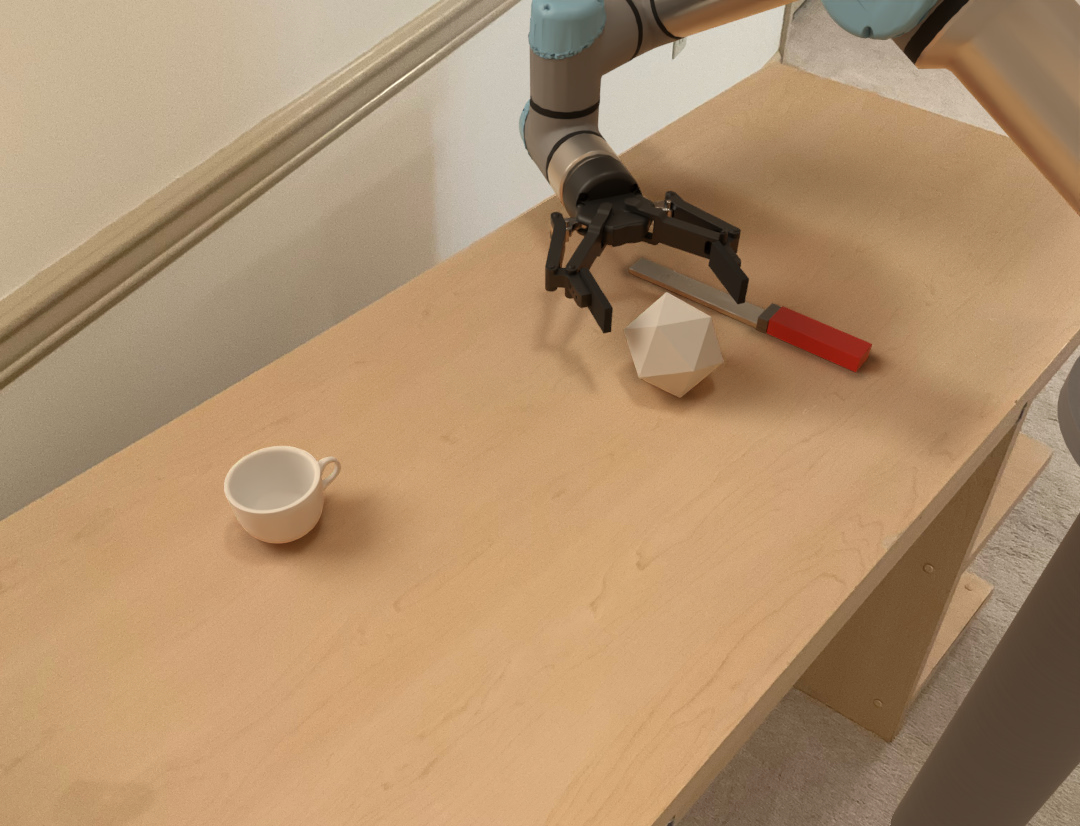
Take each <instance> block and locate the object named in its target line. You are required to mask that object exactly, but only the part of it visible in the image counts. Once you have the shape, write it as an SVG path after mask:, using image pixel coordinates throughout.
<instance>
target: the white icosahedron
mask: <svg viewBox="0 0 1080 826" xmlns="http://www.w3.org/2000/svg"><path fill="white" fill-rule="evenodd" d="M623 333H624V336H625V337H624V338H625V339H626V343H627V346H628V349H629V352H630V355H631V358H632V361H633V364H634V367H635V370H636V374H637V377H638V379H640V380H642V381H644V382H646V383H649V384H650V385H653V386H654V387H656V388H659V389H661V390H663V391H665V392H667V393H669V394H671V395H673V396H675V397H677V398H679V399H681V398H682V397H684V396H685V395H687V393H689V392H690V391H691V390H692V389H693V388H695V387H696V386H697V385H698V384H699V383H701V381H703V380H704V379H705V378H707V377H708V376H710V374H711V373H713V372H714V371H715V370H716V369H718V367H720V366H721V365H722V364H724V362H725V361H724V358H723V357H724V356H723V353H722V350H721V347H720V343H719V339H718V336H717V333H716V329H715V326H714V322H713V319H712V316H711V315H709V314H707V313H706V312H703V311H702V310H700V309H699V308H697V307H694V306H693V305H691V304H689V303H688V302H685V301H684V300H682V299H680V298H679V297H676V296H675V295H673V294H671V293H669V292H668V291H666V292H664V294H662V295H661V296H660V297H659V298H658V299H656V300H655V301H654V302H653V303H652V304H651V305H650V306H649V307H647V308H646V309H645V310H644V311H643V312H641V313H640V314H639V315H638V316H637V317H636V318H634V320H632V321H631V322H630V323H629V324H628V325H626V326H625V327H624V328H623Z"/></svg>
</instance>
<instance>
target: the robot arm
mask: <svg viewBox="0 0 1080 826" xmlns="http://www.w3.org/2000/svg"><path fill="white" fill-rule="evenodd" d="M795 2H799V0H531V4H530V17H529V32H528V34H527V38H528V45H529V99H528V100H527V101H526V103H524V107H523V109H522V111H521V113H520V116H519V119H518V132H519V135H520V138H521V141H522V143H523V145H524V148H525V150H526V151H527V155H528V157H530V160H532V162H534V164H535V165H536V167H537V168H538V170H539V171H540V173H541V174H542V175H543V177H544V179H545V180H546V182H547V183H548V184H549V186H550V188H551V189H552V190H553V192H554V193H555V195H556V197H557V198H558V200H559V201H560V203H561V205H562V206H563V207H564V209H565V211H566V213H567V214H568V216H569V217H566V218H565V217H564V216H563V214H562V212H559V211H554V212H551V213H550V218H549V219H550V222H549V238H550V243H549V247H548V253H547V257H546V261H545V265H544V267H545V268H544V290H545V291H547V292H550V293H553V292H556V291H558V288H562V289H564V297H565V298H566V299H569V300H572V299H573V300H574V302H575V304H576V306H577V307H579V308H580V309H584V308H587V309H588V310H589V312H590V314H591V315H592V318H593V319H594V320H595V322H596V324H597V325H598V327H599V329H600V330H601V332H602V333H603V334H608V333H612V328H613V327H612V326H613V312H614V311H613V310H614V307H613V305H612V304H611V303H610V301H609V299H608V298H607V296H606V294H605V293H604V291H603V290H602V288H601V286H600V284H599V283H598V282H597V280H596V279H595V277H594V275H593V274H592V272H591V270H590V269H591V267H592V266H593V264H594V263H595V261H596V259H597V258H598V257H601V255H602V253H603V252H604V251H605V248H606V247H607V246H610V247H612V248H617V247H621V246H624V245H626V244H637V243H641V242H642V243H644V244H648V245H652V246H654V247H655V246H658V245H659V244H662V245H664V246H668V247H671V248H674V249H677V250H680V251H682V252H685V253H689V254H691V255H695V256H697V257H699V258H704V259H706V260H708V268H709V269H710V270H711V272H712V273H713V274H714V275H715V277H716V278H717V279H718V281H719V282H720V283H721V285H722V286H723V288H724V289H725V290H726V291H727V294H730V295H731V297H732V298H733V299H734V301H735V302H736V303H737V304H742V303H745V301H746V298H747V294H748V288H749V283H750V278H749V277H748V275H747V274H746V272H745V271H744V270H743V269H742V259H741V257H740V256H739V255H738V251H739V244H740V238H741V232H742V230H741V229H740V227H737V226H735V225H733V224H731V223H729V222H727V221H725V220H723V219H722V218H720V217H717V216H715V215H713V214H712V213H709V212H708V211H705V210H703V209H701V208H700V207H697V206H696V205H693V204H692V203H690V202H688V201H686V200H684V198H682V197H681V196H680V195H679V194H678V193H677V192H676V191H673V190H668V191H665V192H664V193H665V194H664V199H662V200H657V201H654V202H653V201H652V200H651V199H650V198H647V197H646V196H644V195H643V194H642V191H641V187H640V186H639V184H638V182H637V180H636V179H635V178H634V176H633V174H632V173H631V172H630V170H629V169H627V167H626V166H625V165H624V163H623V161H622V159H621V158H620V157H619V156H618V154H617V153H616V152H615V150H614V149H613V148H612V147H611V145H610V143H608V141H607V140H606V139H605V137H604V136H603V135H602V134H601V131H600V130H599V118H600V117H599V116H600V115H599V114H600V104H601V87H602V79H603V76H604V75H607V74H609V73H611V72H612V71H614V70H615V69H618V68H619V67H621V66H623V65H625V64H627V63H629V62H631V61H632V60H634V59H635V58H637V57H640V56H642V55H644V54H646V53H648V52H650V51H652V50H654V49H658V48H660V47H663V46H665V45H669V44H672V43H674V42H677V41H680V40H683V39H685V38H688V37H690V36H693V35H696V34H699V33H703V32H705V31H708V30H711V29H714V28H718V27H721V26H725V25H727V24H730V23H733V22H737V21H740V20H742V19H745V18H749V17H752V16H755V15H758V14H761V13H765V12H768V11H770V10H774V9H777V8H780V7H782V6H786V5H790V4H793V3H795ZM820 2H821V4H822V7H824V9H825V11H826V13H827V14H828V15H829V17H830V18H831V20H832V21H834V23H836V24H837V26H838V27H839V28H841V29H842V30H844V31H845V32H847V33H848V34H850V35H852V36H854V37H857V38H859V39H866V40H867V39H871V40H878V41H888V40H892V42H893V43H894V44H895V45H896V46H897V47H898V48H899V50H901V52H902V53H903V54H904V55H905V56H906V57H907V59H908V60H909V61H910V62H911V64H912V65H914V66H915V67H916V68H917V69H918V70H936V69H937V70H940V69H943V70H944V69H945V70H948V71H949V72H951V73H952V75H954V77H956V79H957V80H958V81H959V82H960V84H961V85H962V86H963V87H964V88H965V89H966V90H967V91H968V92H969V93H970V94H971V96H972V97H973V98H974V99H975V100H976V101H977V103H978V104H979V105H980V106H981V107H982V109H984V110H985V112H986V113H987V114H988V115H989V116H990V117H991V118H992V119H993V120H994V121H995V123H996V124H997V125H998V126H999V128H1001V130H1002V131H1003V132H1004V133H1005V134H1006V135H1007V136H1008V137H1009V139H1010V140H1011V141H1012V142H1013V144H1015V146H1016V147H1017V148H1018V149H1019V150H1020V151H1021V152H1022V153H1023V154H1024V155H1025V157H1026V158H1027V159H1028V160H1029V161H1030V162H1031V164H1032V165H1033V166H1034V167H1035V168H1036V169H1037V171H1039V173H1040V174H1041V175H1042V177H1044V178H1045V179H1046V181H1048V183H1049V184H1050V185H1051V186H1052V187H1053V189H1055V190H1056V192H1057V193H1058V194H1059V195H1060V196H1061V197H1062V199H1063V200H1064V201H1065V202H1066V203H1067V204H1068V206H1070V208H1071V209H1072V210H1073V211H1074V212H1075V213H1076V215H1077V216H1078V217H1080V3H1078V1H1076V0H820ZM652 224H653V225H652ZM651 226H652V232H651V231H650V229H651ZM574 232H576V233H577V234H578V235H580V236H582V237H583V238H582V239H581V241H580V243H579V245H577V248H575V251H574V252H573V254H572V255H571V257H570V259H569V260H568V262H567V263H566V265H565V267H563V263H564V260H565V259H564V258H565V253H566V243H569V242H570V238H571V237H572V236H573V233H574Z"/></svg>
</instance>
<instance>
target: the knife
mask: <svg viewBox="0 0 1080 826" xmlns="http://www.w3.org/2000/svg"><path fill="white" fill-rule="evenodd" d="M628 273H629V274H632V275H634V276H636V277H639V278H640V279H642V280H645V281H646V282H647V281H648V282H650V283H651V284H654V285H656V286H659V287H661V288H663V289H666V290H668V291H669V292H672V293H674V294H677V295H679V296H681V297H684V298H686V299H688V300H691V301H693V302H695V303H697V304H700V305H701V306H704V307H706V308H709V309H711V310H713V311H715V312H718V313H720V314H722V315H725V316H727V317H729V318H732V319H734V320H735V321H739V322H740V323H742V324H746V325H748V326H750V327H752V328H755V330H757V331H759V332H761V333H763V334H766V335H770V336H771V337H774V338H776V339H778V340H781V341H783V342H786V343H788V344H790V345H792V346H794V347H796V348H799V349H801V350H804V351H805V352H808V353H810V354H813V355H815V356H817V357H820V358H822V359H824V360H827V361H829V362H831V363H833V364H836V365H838V366H840V367H842V368H845V369H847V370H849V371H852V372H853V373H857V372H858V371H859V369H860V368H861V367H862V366H863V364H865V362H867V360H868V359H869V356H870V353H871V351H872V347H873V343H871V342H869V341H867V340H864V339H862V338H859V337H857V336H855V335H852V334H850V333H847V332H846V331H843V330H840V329H838V328H836V327H833V326H831V325H828V324H826V323H824V322H822V321H819V320H817V319H814V318H812V317H810V316H808V315H805V314H804V313H801V312H798V311H795V310H794V309H791V308H789V307H786V306H784V305H782V306H781V305H779V304H776V303H774V302H772V303H771V304H770V305H768V306H767V307H766V308H763V307H760V306H758V305H756V304H753V303H751V302H748V301H746V300H745V303H742V304H737V303H736V302H735V301H734V299H733V298H732V297H731V295H730V294H729V293H728V292H725V291H723V290H721V289H719V288H716V287H713V286H712V285H709V284H706V283H704V282H702V281H699V280H697V279H695V278H693V277H691V276H688V275H685V274H683V273H680V272H678V271H676V270H673V269H671V268H670V267H666V266H664V265H662V264H659V263H657V262H655V261H653V260H650V259H648V258H645V257H643V256H642V257H640V258H639V259H638V260H637V261H636V262H634V263H633V264H632V265H631V266H630V267H628Z"/></svg>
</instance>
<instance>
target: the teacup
mask: <svg viewBox="0 0 1080 826" xmlns="http://www.w3.org/2000/svg"><path fill="white" fill-rule="evenodd" d="M330 463H331V464H332V463H334V468H333V470H332V472H331V473H330V474H329V475H328V476H327V477H325V478H324V479H323V474H324V471H325V469H326V467H327V466H328V465H329V464H330ZM341 470H342V464H341V462H340V460H339V458H337V457H335V456H333V455H330V456H325V457H323V458H321V459H319V460H317V459H316V458H315V456H313V455H312V453H309V451H307V450H304V449H302V448H300V447H297V446H296V447H295V446H292V445H291V446H290V445H273V446H267V447H263V448H260V449H257V450H254V451H251V452H249V453H248V454H246V455H244V456H242V457H241V458H240V459H239V460H238V461H236V462H235V463H234V464H233V465H232V466H231V467H230V468H229V470H228V471H227V474H226V475H225V478H224V481H223V491H224V495H225V497H226V499H227V502H228V504H229V507H230V509H231V511H232V513H233V515H234V517H235V518H236V520H237V522H238V523H239V525H240V526H241V527H242V528H243V530H244V531H245V532H246V533H247V534H248V535H249V536H251V537H253V538H254V539H256V540H259V541H260V542H264V543H268V544H287V543H291V542H294V541H297V540H299V539H301V538H303V537H304V536H306V535H307V534H309V533H310V532H311V531H312V530H313V529H314V528H315V527H316V525H317V524H318V522H319V521H320V518H321V516H322V514H323V509H324V505H325V504H324V503H325V494H324V491H326V489H327V488H328V487H329V486H330V485H331V484H332V483H333V482H334V480H336V479H337V478H338V476H339V474H340V473H341Z"/></svg>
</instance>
